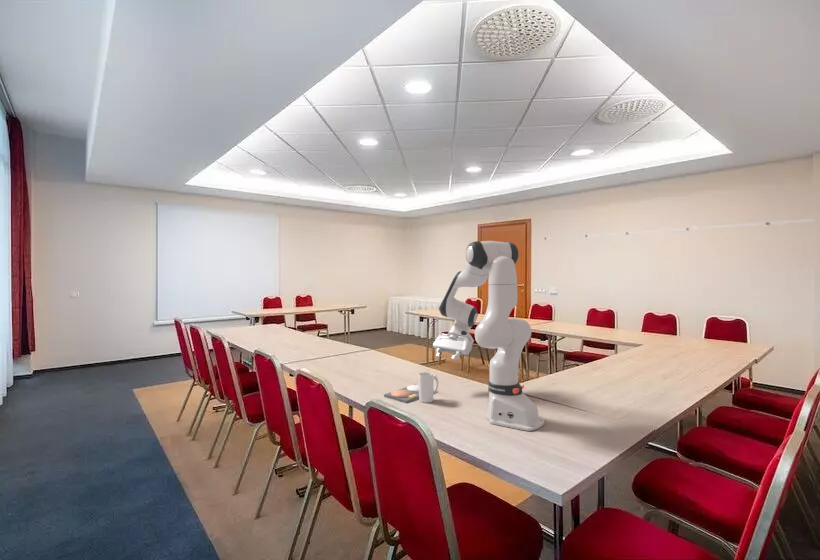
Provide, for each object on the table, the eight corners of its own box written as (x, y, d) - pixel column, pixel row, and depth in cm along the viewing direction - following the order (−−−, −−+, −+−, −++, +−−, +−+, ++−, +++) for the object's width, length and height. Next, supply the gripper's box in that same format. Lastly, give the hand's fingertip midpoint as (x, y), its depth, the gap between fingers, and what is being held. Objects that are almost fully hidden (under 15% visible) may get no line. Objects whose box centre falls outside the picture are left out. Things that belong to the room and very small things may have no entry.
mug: (423, 404, 173) (423, 376, 173) (415, 399, 179) (415, 373, 178) (442, 400, 178) (442, 373, 178) (434, 396, 184) (434, 370, 183)
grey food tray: (437, 391, 191) (437, 387, 190) (406, 403, 174) (406, 399, 174) (415, 386, 200) (415, 382, 200) (384, 396, 184) (384, 392, 184)
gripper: (437, 329, 199) (425, 351, 192) (471, 333, 185) (459, 357, 178) (443, 337, 203) (431, 359, 196) (477, 341, 189) (465, 365, 182)
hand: (445, 358), depth 187 cm, fingers open, 8 cm apart
